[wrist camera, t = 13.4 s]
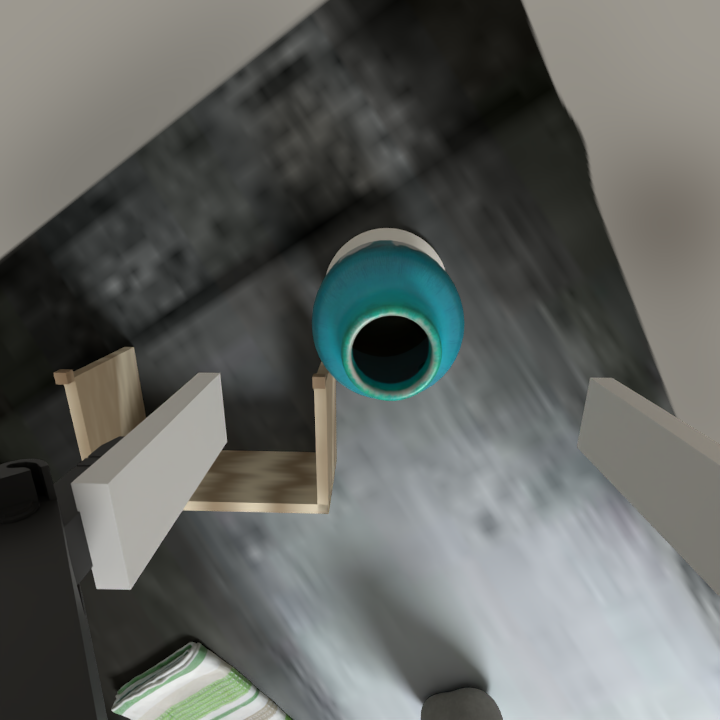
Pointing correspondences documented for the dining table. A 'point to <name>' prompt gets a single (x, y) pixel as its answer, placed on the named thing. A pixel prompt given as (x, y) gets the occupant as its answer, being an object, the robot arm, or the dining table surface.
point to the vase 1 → (387, 320)
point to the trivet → (386, 235)
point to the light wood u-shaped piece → (231, 468)
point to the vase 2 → (461, 706)
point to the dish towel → (194, 691)
